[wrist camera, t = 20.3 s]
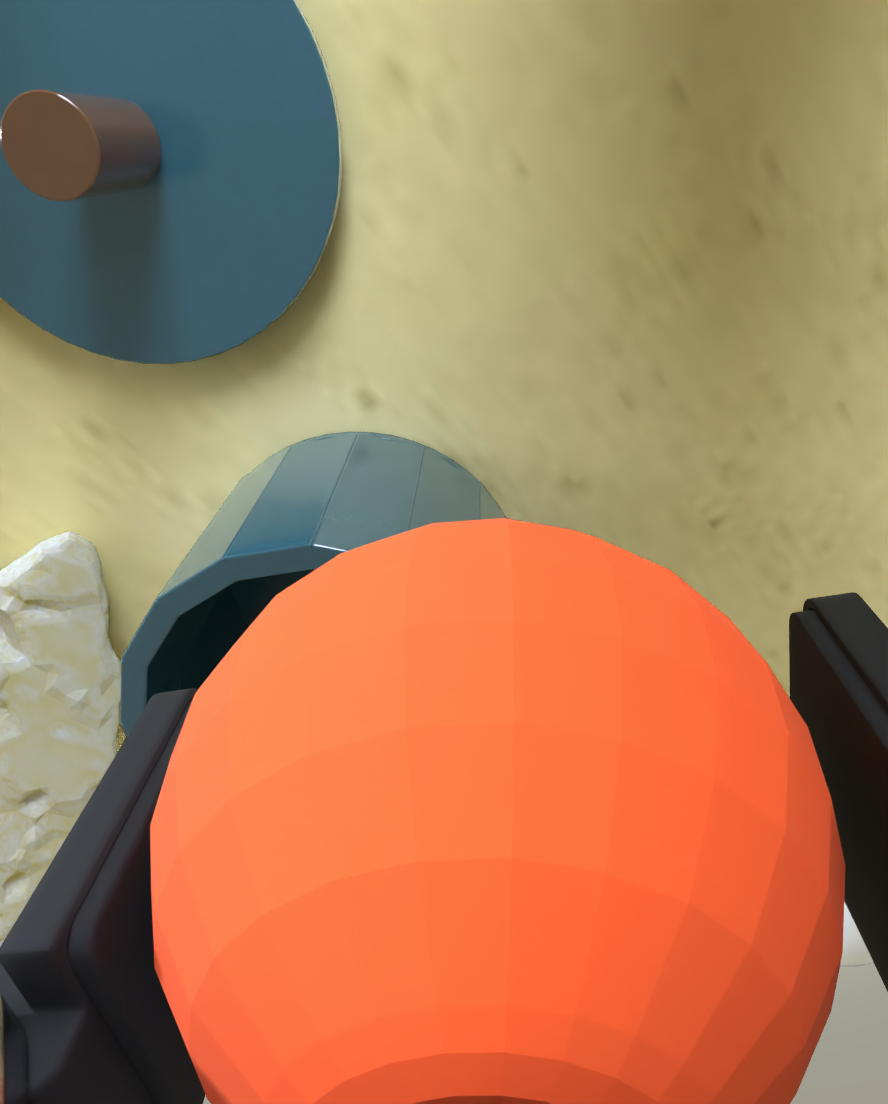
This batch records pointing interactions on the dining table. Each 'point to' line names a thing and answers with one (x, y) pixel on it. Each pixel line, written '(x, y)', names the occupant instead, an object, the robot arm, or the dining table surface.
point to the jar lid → (162, 170)
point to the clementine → (496, 839)
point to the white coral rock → (51, 706)
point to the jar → (287, 545)
